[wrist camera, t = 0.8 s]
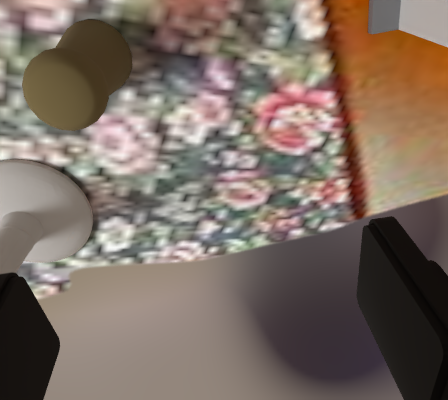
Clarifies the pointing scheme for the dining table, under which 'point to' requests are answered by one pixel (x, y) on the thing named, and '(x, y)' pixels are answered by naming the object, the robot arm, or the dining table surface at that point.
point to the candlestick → (40, 215)
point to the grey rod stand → (411, 18)
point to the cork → (77, 75)
